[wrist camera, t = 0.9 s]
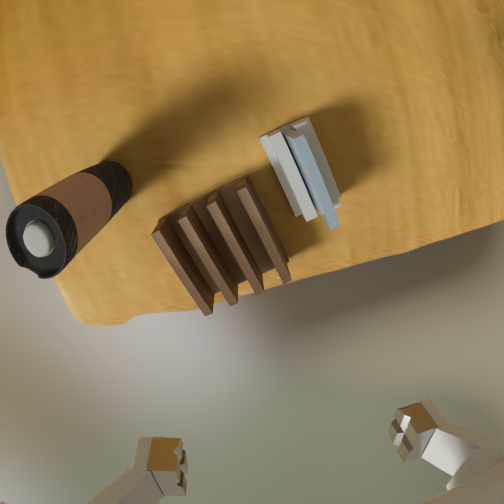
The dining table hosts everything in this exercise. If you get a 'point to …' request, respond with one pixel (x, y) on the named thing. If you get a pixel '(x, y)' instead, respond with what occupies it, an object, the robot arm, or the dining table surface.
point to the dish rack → (221, 244)
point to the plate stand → (289, 171)
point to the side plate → (311, 176)
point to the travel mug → (66, 217)
